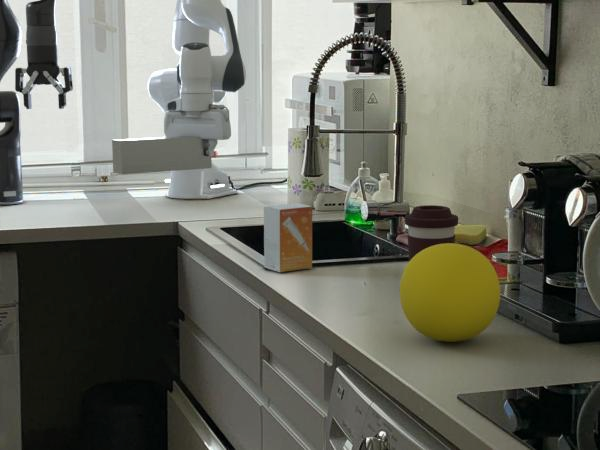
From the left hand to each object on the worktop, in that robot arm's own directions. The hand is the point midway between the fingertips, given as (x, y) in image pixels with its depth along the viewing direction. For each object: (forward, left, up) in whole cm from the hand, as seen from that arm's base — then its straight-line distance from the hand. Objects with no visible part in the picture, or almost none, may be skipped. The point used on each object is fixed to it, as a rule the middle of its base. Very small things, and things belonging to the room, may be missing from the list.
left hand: (45, 108), depth 266 cm
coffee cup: (+114, +22, -30) cm, 120 cm away
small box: (+83, +12, -30) cm, 89 cm away
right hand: (+13, +38, -14) cm, 42 cm away
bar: (+12, +27, -17) cm, 34 cm away
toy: (+141, -3, -30) cm, 144 cm away
